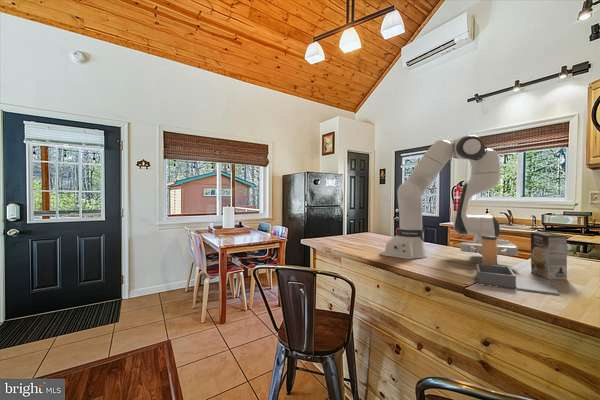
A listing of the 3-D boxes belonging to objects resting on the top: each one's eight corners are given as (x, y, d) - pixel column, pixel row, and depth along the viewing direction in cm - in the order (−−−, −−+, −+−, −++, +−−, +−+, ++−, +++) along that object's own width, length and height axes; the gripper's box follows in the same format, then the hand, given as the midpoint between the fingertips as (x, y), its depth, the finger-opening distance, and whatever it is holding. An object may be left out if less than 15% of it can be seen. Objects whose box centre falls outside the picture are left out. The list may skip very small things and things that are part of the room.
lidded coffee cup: (482, 270, 102) (482, 237, 102) (481, 267, 107) (480, 235, 107) (498, 272, 100) (497, 237, 99) (496, 269, 104) (496, 236, 104)
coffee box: (530, 271, 99) (529, 232, 99) (548, 272, 98) (548, 232, 98) (547, 279, 90) (547, 235, 90) (568, 279, 89) (568, 235, 89)
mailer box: (478, 284, 87) (478, 272, 87) (476, 274, 97) (476, 263, 97) (559, 295, 76) (559, 281, 76) (547, 283, 86) (547, 270, 86)
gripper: (459, 237, 120) (459, 242, 109) (513, 240, 109) (520, 246, 98) (459, 250, 121) (459, 256, 109) (514, 254, 110) (521, 262, 98)
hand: (489, 251), depth 103 cm, fingers open, 8 cm apart
